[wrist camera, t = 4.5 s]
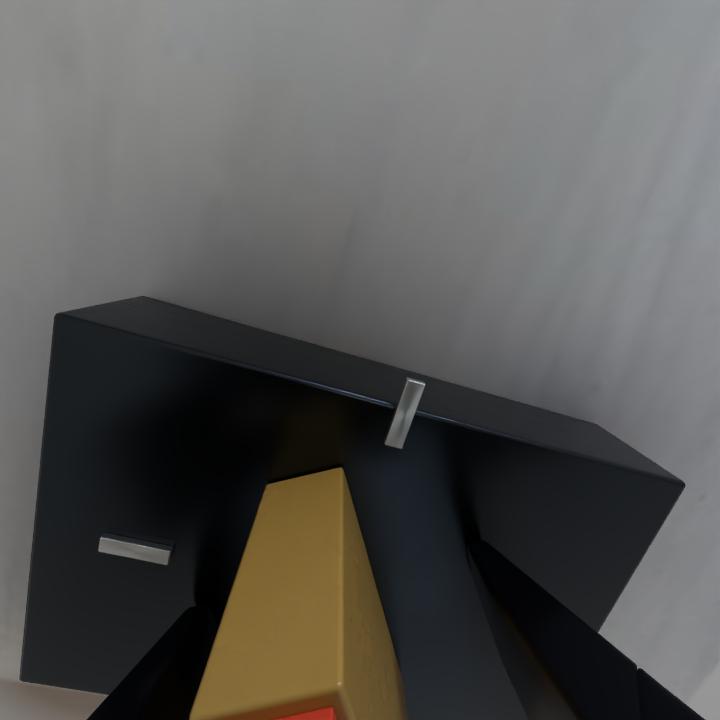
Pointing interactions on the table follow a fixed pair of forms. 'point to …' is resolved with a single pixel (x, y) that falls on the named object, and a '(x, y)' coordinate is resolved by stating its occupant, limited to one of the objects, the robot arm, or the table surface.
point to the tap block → (299, 458)
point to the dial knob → (303, 617)
